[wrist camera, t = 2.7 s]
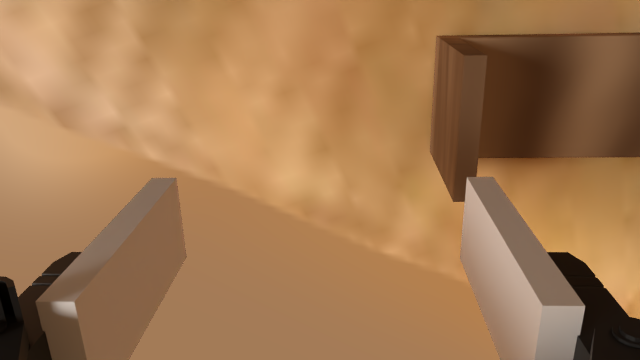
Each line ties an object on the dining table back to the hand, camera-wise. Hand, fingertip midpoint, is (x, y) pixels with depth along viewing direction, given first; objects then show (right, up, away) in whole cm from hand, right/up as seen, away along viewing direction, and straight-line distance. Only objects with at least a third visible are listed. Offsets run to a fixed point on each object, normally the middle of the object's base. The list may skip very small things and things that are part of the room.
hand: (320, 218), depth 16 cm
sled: (+18, +6, +15) cm, 25 cm away
